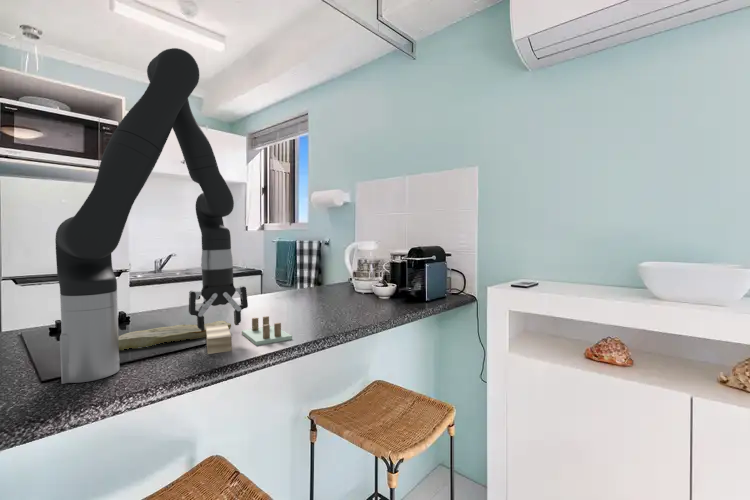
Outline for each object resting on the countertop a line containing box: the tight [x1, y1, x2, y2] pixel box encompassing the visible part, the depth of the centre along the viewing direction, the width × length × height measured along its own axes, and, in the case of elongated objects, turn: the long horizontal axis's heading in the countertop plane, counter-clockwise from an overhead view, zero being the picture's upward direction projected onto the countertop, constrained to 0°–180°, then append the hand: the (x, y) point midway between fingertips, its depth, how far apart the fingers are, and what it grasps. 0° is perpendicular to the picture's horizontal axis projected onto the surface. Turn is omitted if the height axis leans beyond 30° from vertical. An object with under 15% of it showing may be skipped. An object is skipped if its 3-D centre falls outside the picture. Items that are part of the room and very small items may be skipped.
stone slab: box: [118, 320, 232, 351], centre depth 103 cm, size 12×4×30 cm
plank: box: [205, 324, 233, 355], centre depth 96 cm, size 14×6×4 cm, turn 26°
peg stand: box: [241, 315, 293, 346], centre depth 104 cm, size 14×10×4 cm
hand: (220, 327), depth 96 cm, fingers open, 8 cm apart
